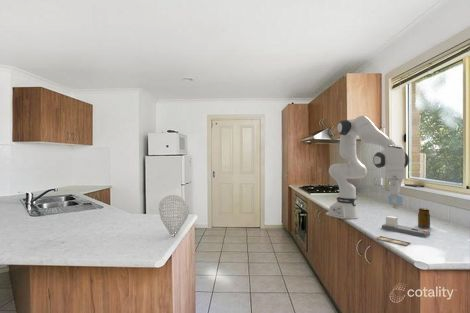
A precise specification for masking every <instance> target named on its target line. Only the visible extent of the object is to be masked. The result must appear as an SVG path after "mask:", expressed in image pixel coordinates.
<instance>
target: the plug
mask: <svg viewBox="0 0 470 313" xmlns="http://www.w3.org/2000/svg"><path fill="white" fill-rule="evenodd" d="M398 219H399V218H398V216H392V215H387V216H385V224H386V225H388V226H393V227H396V226H398V225H399V224H398V223H399V222H398Z"/></svg>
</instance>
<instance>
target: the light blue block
mask: <svg viewBox="0 0 470 313" xmlns="http://www.w3.org/2000/svg"><path fill="white" fill-rule="evenodd" d="M388 204H389V205H392V208H393V209H395V210H397V209H399V206H403V195H401V194H398V195H397V203H393V199H392V195H390V194H388Z"/></svg>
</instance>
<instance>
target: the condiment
mask: <svg viewBox="0 0 470 313" xmlns="http://www.w3.org/2000/svg"><path fill="white" fill-rule="evenodd" d="M418 227H419V228H421V229H430V228H431V213H430V209H429V208H422V207H420V208H418V213H417V228H418Z"/></svg>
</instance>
